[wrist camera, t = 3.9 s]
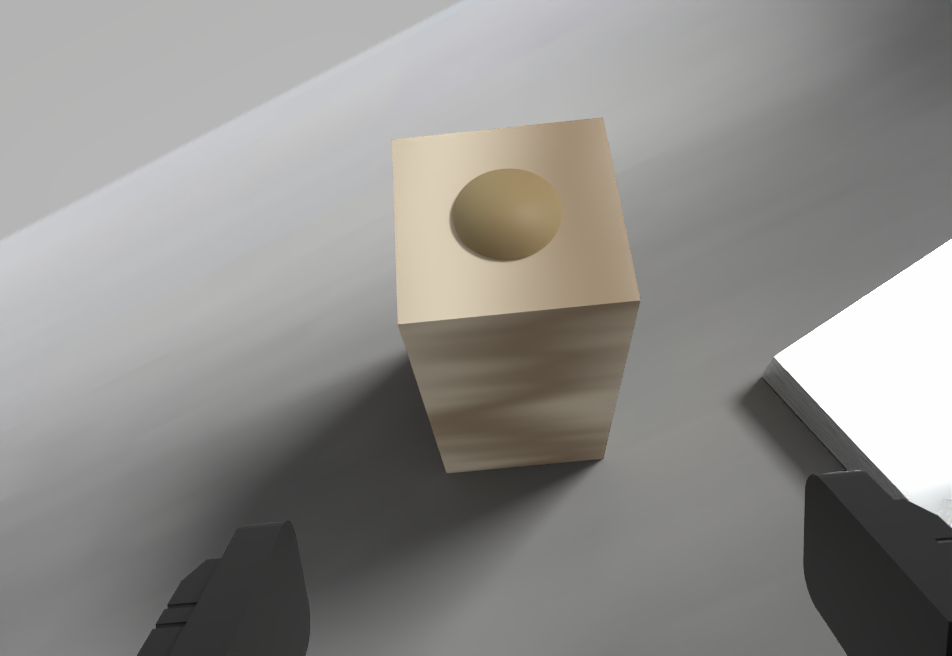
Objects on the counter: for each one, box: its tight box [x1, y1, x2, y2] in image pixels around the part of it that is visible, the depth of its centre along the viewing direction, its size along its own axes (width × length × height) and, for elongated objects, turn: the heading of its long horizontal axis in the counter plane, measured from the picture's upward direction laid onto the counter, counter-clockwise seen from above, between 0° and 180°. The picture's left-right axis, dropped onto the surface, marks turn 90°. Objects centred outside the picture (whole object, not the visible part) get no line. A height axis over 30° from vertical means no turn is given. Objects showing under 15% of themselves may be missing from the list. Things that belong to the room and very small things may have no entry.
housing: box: [392, 118, 640, 473], centre depth 22 cm, size 5×5×10 cm
